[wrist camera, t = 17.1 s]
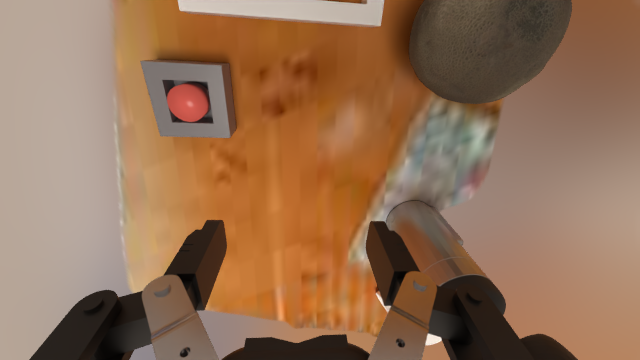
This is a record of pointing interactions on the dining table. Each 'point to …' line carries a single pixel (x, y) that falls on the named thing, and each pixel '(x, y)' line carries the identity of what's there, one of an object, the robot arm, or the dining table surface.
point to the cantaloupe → (484, 45)
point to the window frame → (292, 10)
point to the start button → (189, 101)
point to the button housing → (208, 74)
